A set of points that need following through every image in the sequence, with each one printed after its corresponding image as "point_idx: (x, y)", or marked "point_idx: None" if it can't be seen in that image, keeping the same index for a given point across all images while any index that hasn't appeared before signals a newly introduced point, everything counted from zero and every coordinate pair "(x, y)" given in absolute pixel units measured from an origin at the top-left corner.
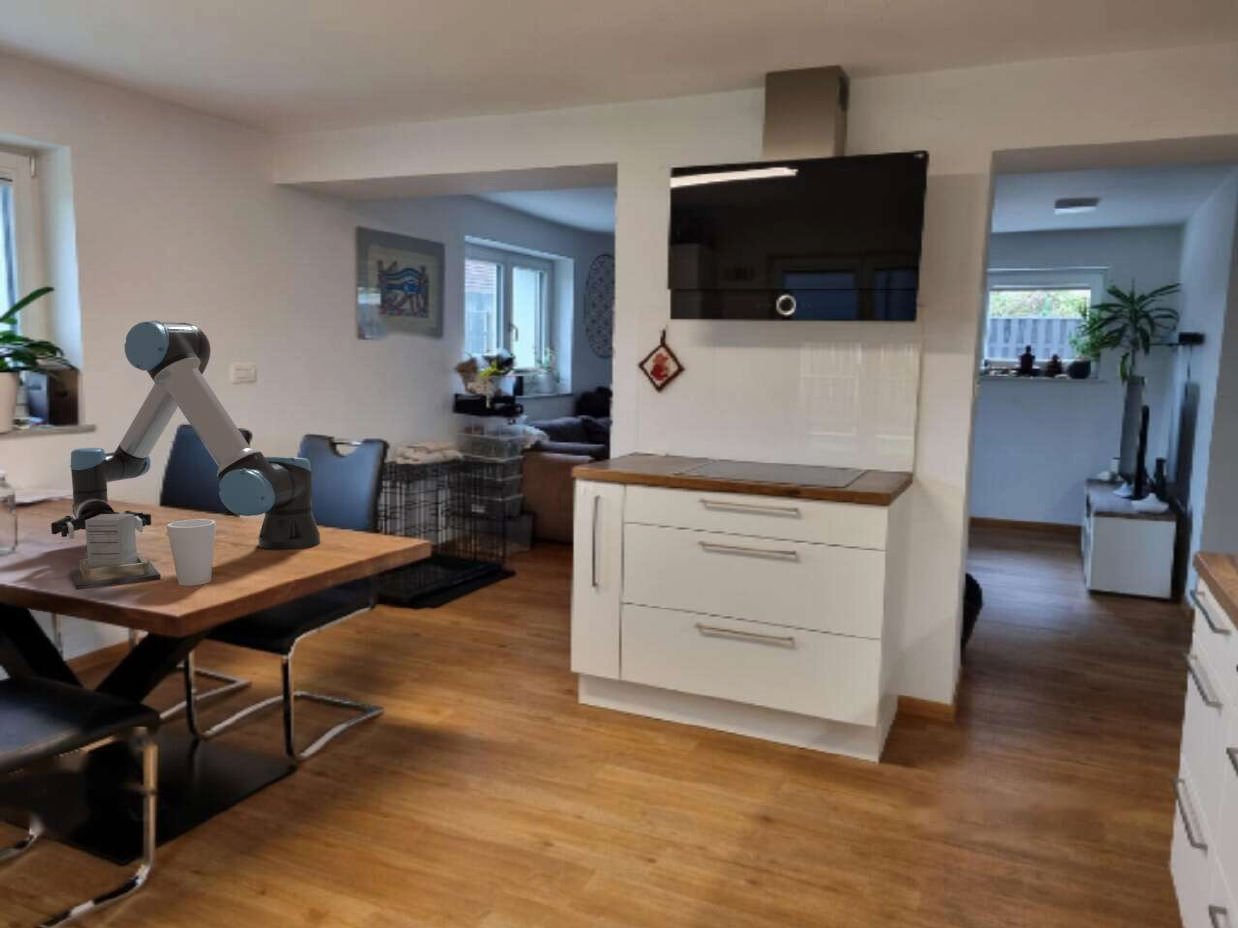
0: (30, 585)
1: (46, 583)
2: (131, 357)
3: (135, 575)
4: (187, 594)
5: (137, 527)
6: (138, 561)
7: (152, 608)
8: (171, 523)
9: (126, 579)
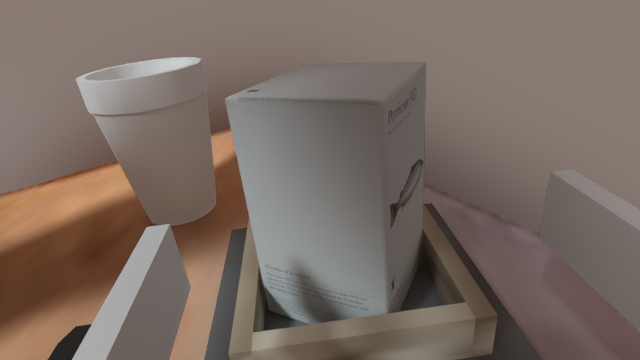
0: None
1: (565, 290)
2: None
3: None
4: (230, 162)
5: (167, 327)
6: (260, 291)
7: None
8: (179, 68)
9: None
